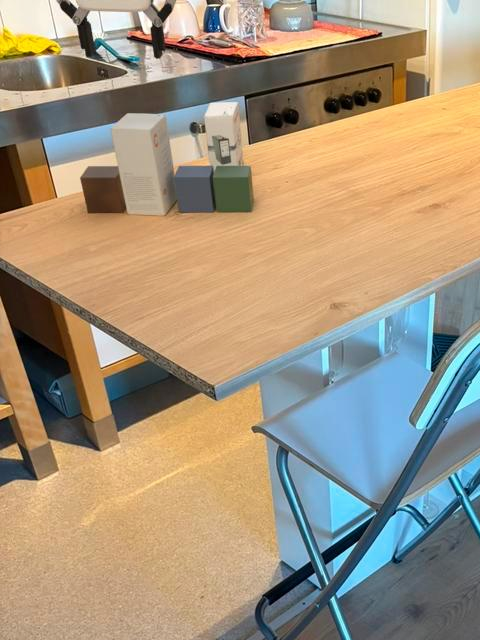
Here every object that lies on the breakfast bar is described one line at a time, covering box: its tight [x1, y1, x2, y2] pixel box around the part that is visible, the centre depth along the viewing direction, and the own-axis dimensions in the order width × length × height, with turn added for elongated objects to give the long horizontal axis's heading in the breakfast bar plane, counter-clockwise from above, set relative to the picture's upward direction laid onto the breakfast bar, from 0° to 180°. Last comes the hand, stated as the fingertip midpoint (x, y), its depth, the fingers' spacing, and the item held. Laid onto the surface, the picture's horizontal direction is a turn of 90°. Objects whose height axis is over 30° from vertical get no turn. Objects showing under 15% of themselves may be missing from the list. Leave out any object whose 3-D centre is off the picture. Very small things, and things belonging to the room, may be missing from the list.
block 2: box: [174, 165, 216, 213], centre depth 130 cm, size 6×6×6 cm
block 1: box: [79, 165, 126, 214], centre depth 129 cm, size 6×6×6 cm
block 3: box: [213, 165, 255, 213], centre depth 130 cm, size 6×6×6 cm
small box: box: [109, 112, 177, 217], centre depth 127 cm, size 8×6×13 cm
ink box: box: [203, 101, 245, 172], centre depth 137 cm, size 9×5×12 cm, turn 3°
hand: (124, 55), depth 117 cm, fingers open, 9 cm apart
